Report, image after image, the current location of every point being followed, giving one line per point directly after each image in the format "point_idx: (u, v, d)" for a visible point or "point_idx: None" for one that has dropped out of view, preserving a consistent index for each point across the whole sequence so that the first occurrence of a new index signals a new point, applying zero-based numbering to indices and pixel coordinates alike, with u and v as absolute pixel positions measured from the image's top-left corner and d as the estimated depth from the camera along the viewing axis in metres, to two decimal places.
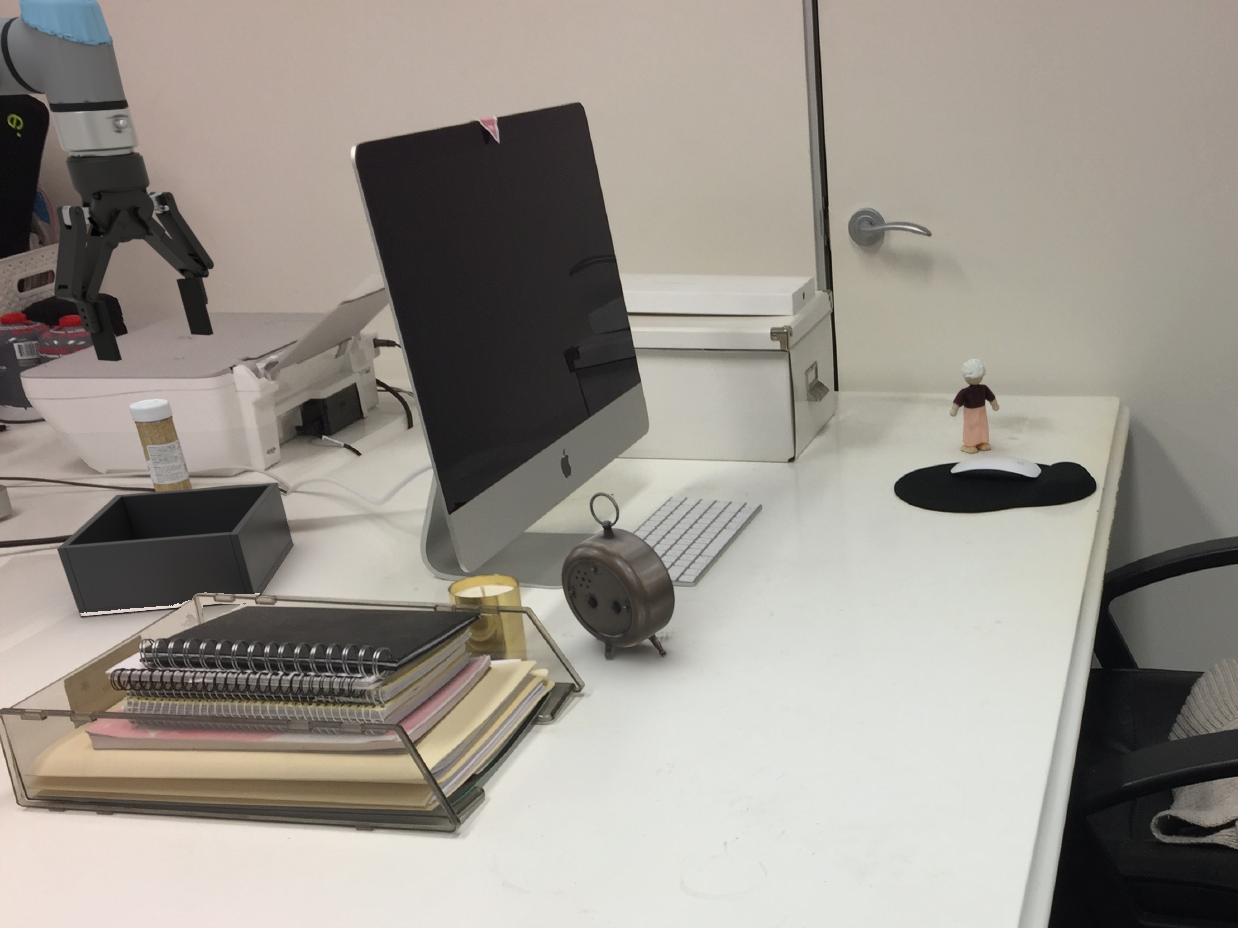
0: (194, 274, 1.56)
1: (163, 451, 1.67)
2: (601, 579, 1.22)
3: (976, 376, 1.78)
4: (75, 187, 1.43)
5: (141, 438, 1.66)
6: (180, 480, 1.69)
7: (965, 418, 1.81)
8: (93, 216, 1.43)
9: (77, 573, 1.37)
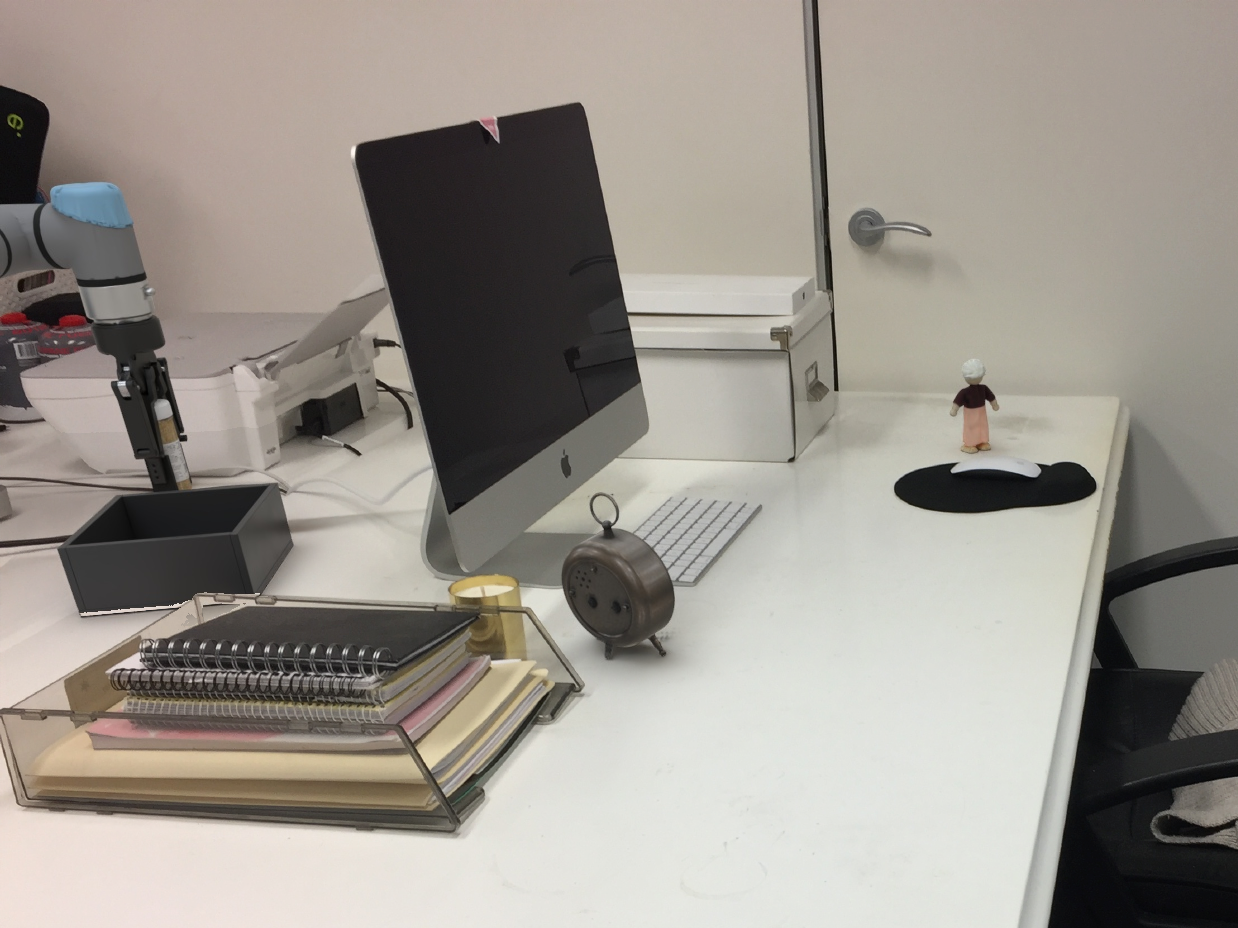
0: None
1: None
2: (601, 579, 1.22)
3: (976, 376, 1.78)
4: (109, 351, 1.59)
5: None
6: (180, 480, 1.69)
7: (965, 418, 1.81)
8: (135, 378, 1.60)
9: (77, 573, 1.37)
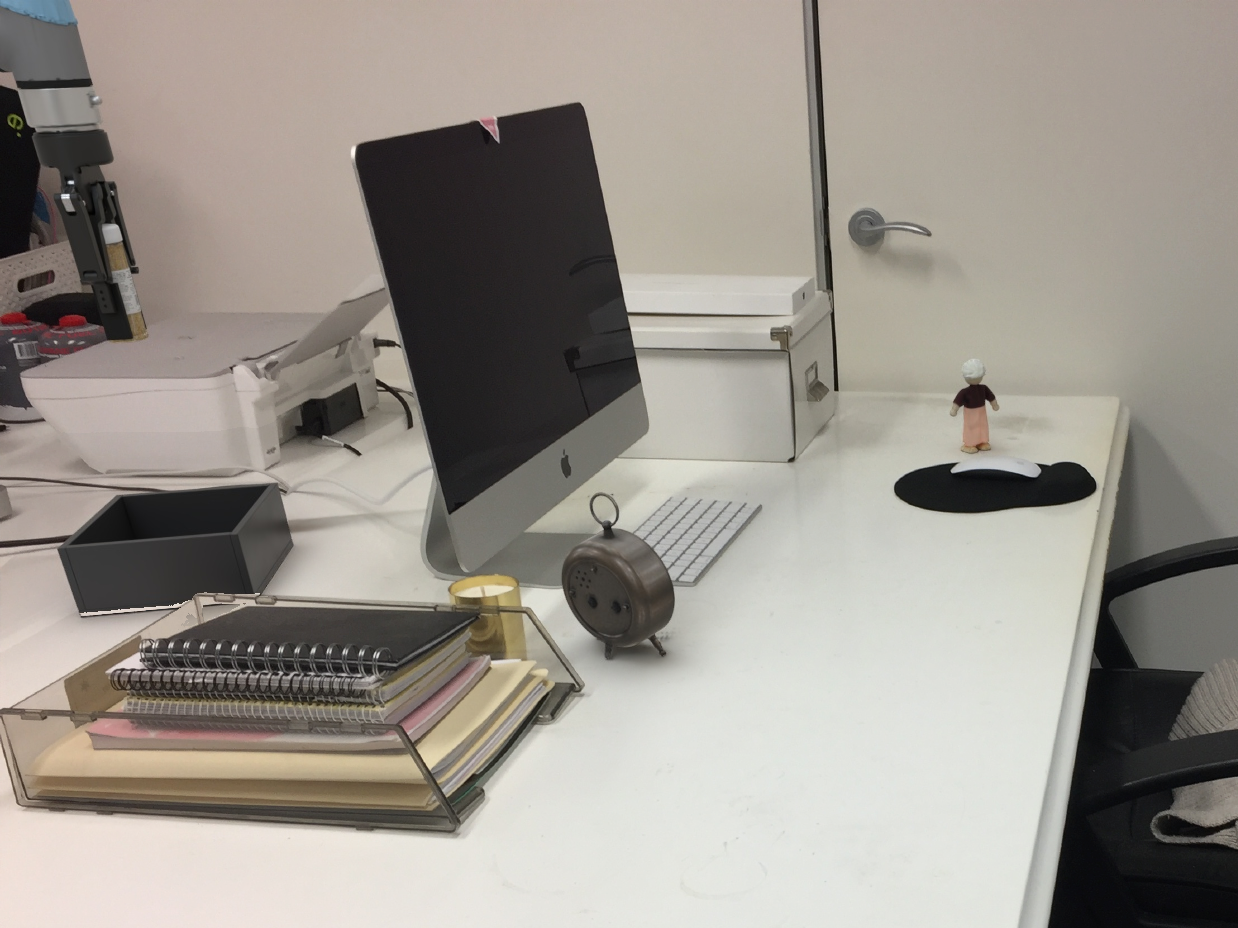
0: None
1: None
2: (601, 579, 1.22)
3: (976, 376, 1.78)
4: (52, 162, 1.48)
5: None
6: (131, 313, 1.58)
7: (965, 418, 1.81)
8: (80, 193, 1.50)
9: (77, 573, 1.37)
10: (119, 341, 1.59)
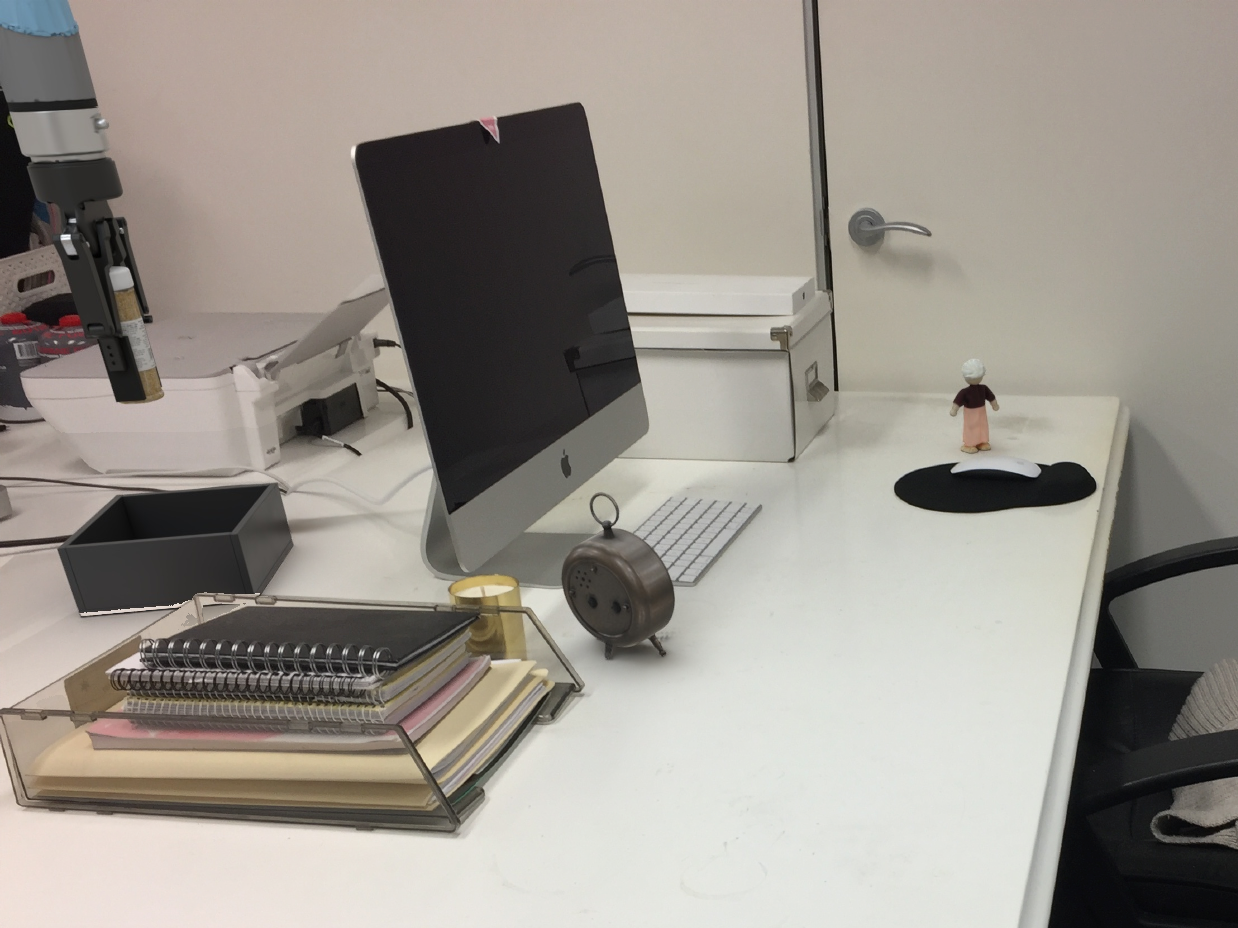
0: None
1: (122, 330, 1.34)
2: (601, 579, 1.22)
3: (976, 376, 1.78)
4: (50, 197, 1.26)
5: None
6: (144, 369, 1.36)
7: (965, 418, 1.81)
8: (84, 233, 1.27)
9: (77, 573, 1.37)
10: (130, 402, 1.37)
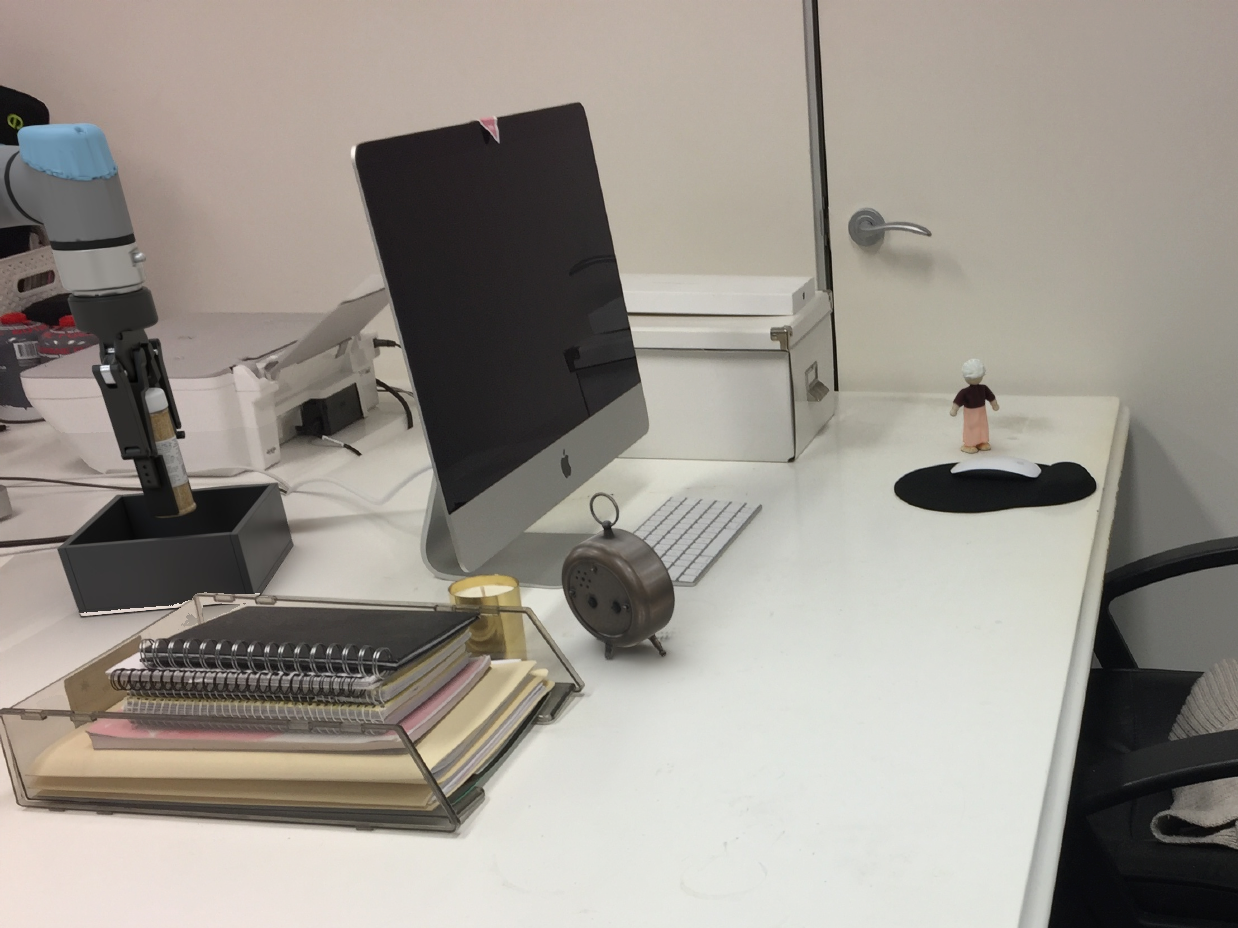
0: None
1: (157, 450, 1.39)
2: (601, 579, 1.22)
3: (976, 376, 1.78)
4: (90, 329, 1.31)
5: None
6: (177, 485, 1.41)
7: (965, 418, 1.81)
8: (121, 362, 1.33)
9: (77, 573, 1.37)
10: (164, 516, 1.42)
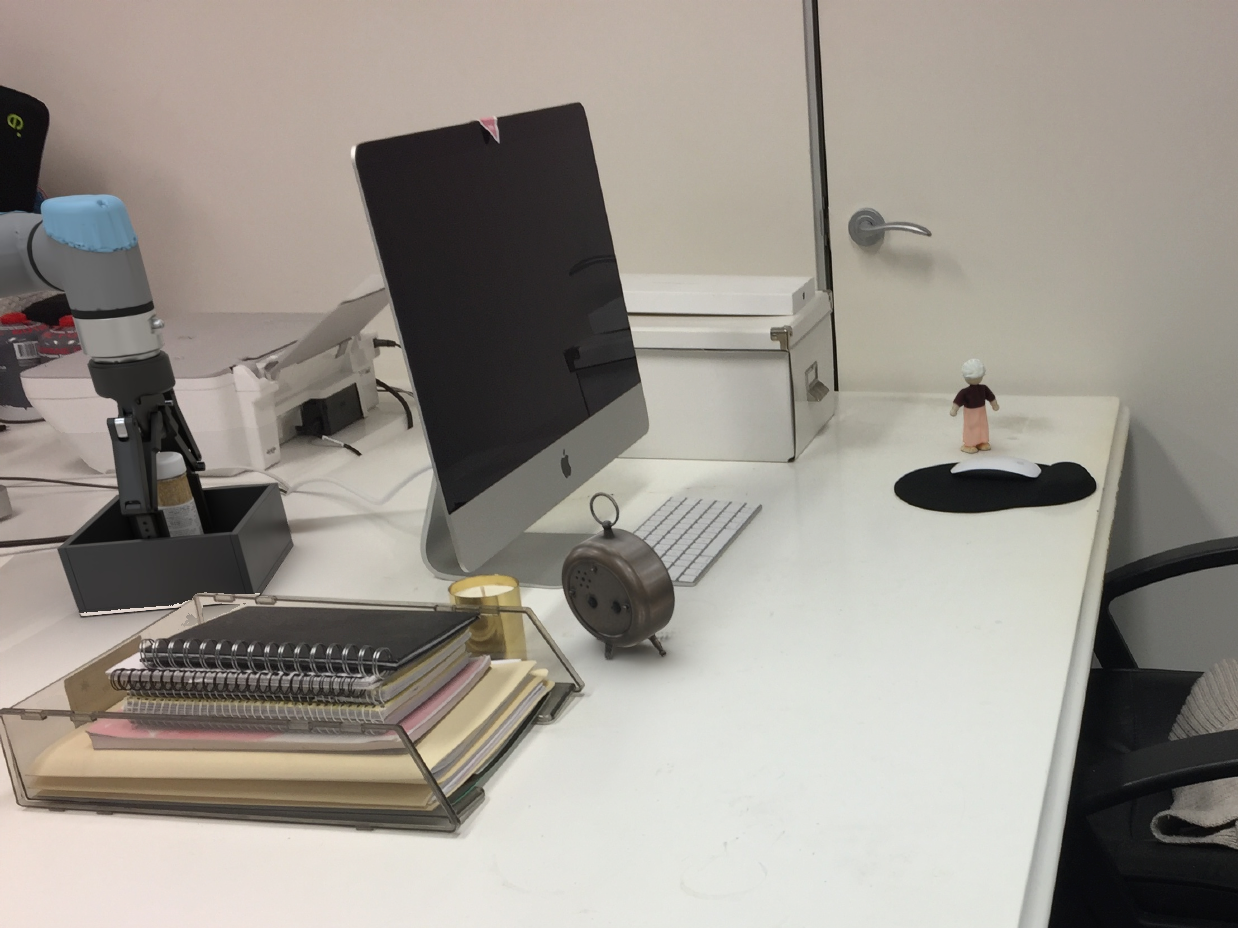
0: (192, 469, 1.49)
1: (175, 513, 1.42)
2: (601, 579, 1.22)
3: (976, 376, 1.78)
4: (109, 394, 1.34)
5: None
6: None
7: (965, 418, 1.81)
8: (138, 423, 1.35)
9: (77, 573, 1.37)
10: None
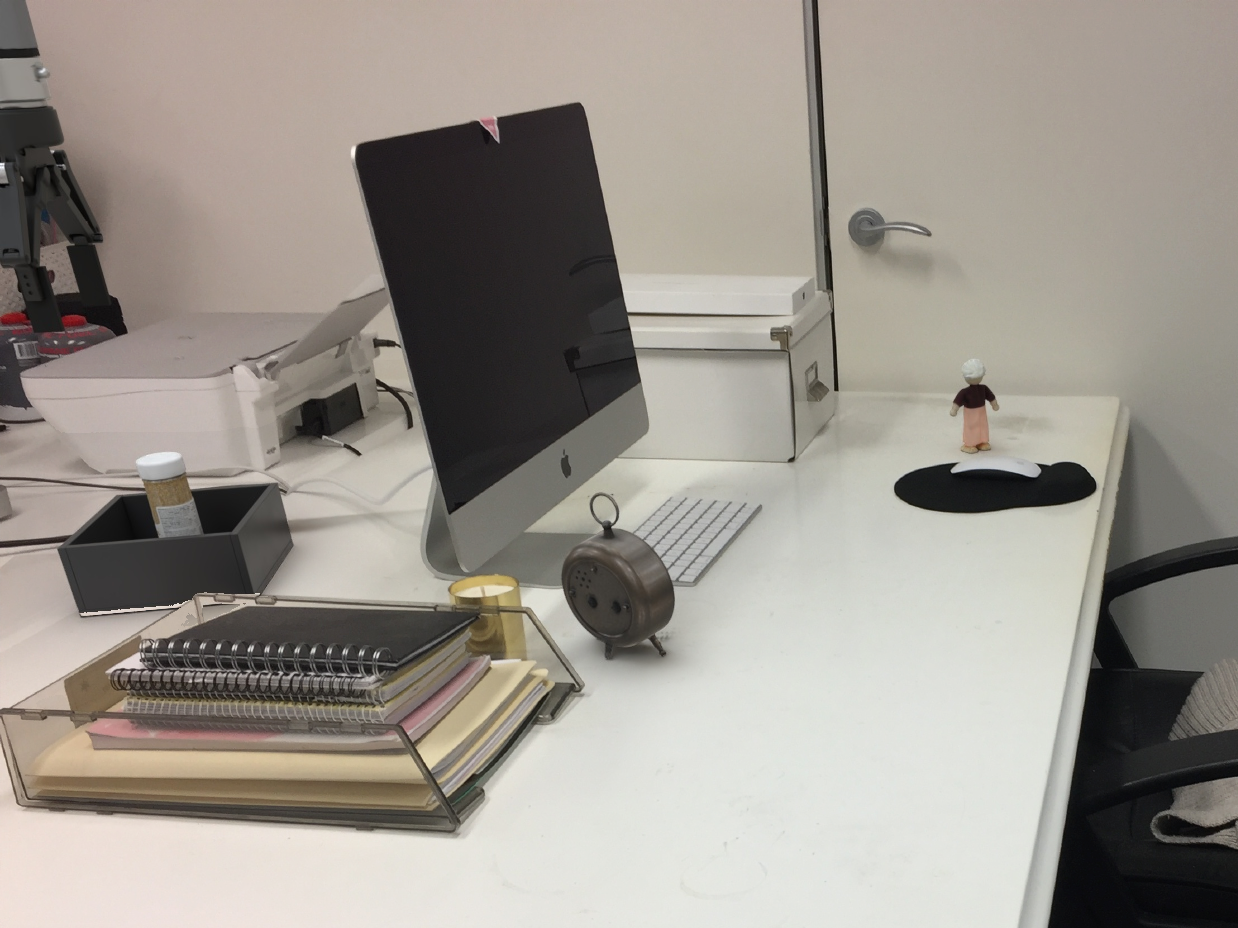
0: (89, 239, 1.45)
1: (175, 513, 1.42)
2: (601, 579, 1.22)
3: (976, 376, 1.78)
4: None
5: (149, 498, 1.42)
6: None
7: (965, 418, 1.81)
8: (21, 174, 1.32)
9: (77, 573, 1.37)
10: None
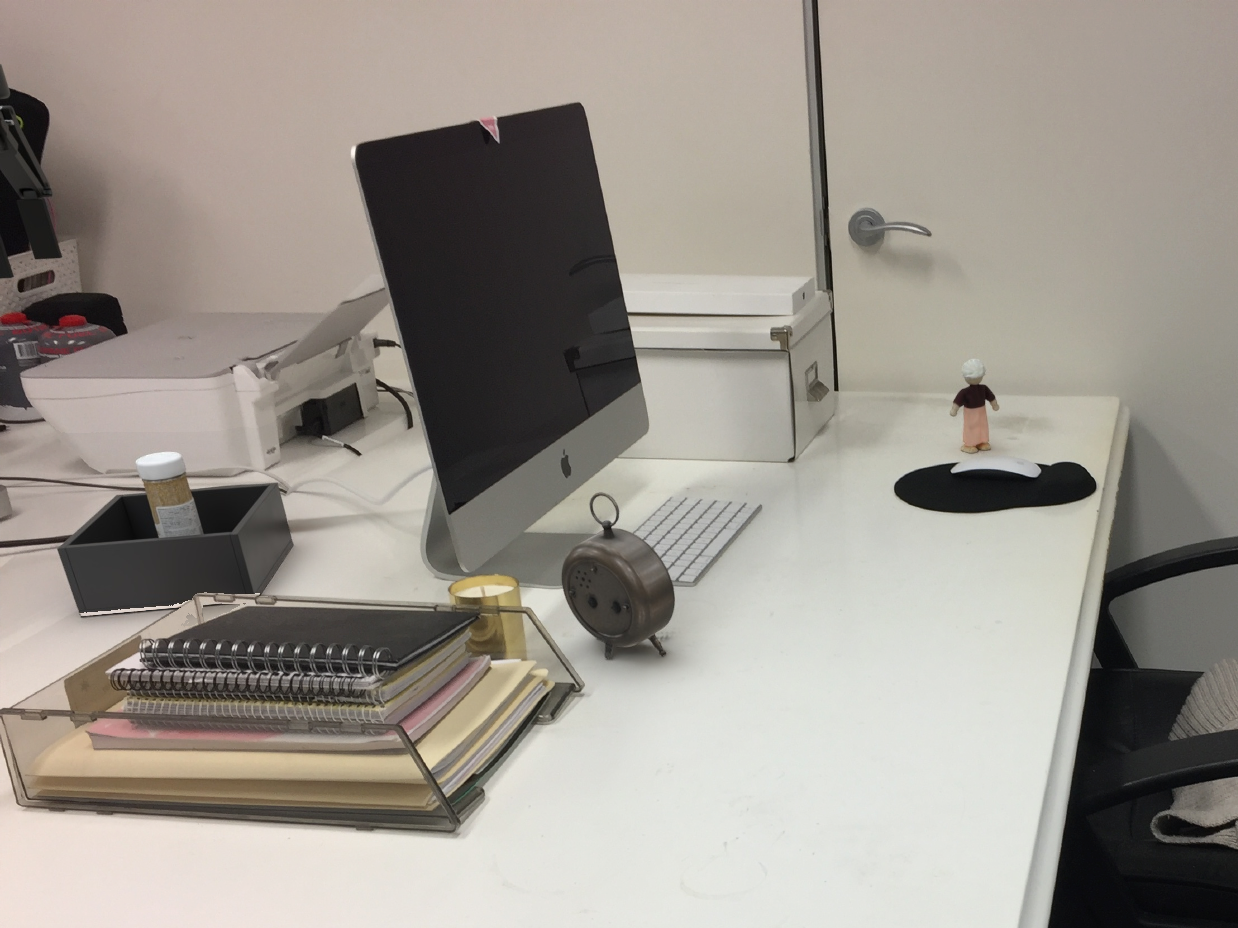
0: (38, 194, 1.51)
1: (175, 513, 1.42)
2: (601, 579, 1.22)
3: (976, 376, 1.78)
4: None
5: (149, 498, 1.42)
6: None
7: (965, 418, 1.81)
8: None
9: (77, 573, 1.37)
10: None
